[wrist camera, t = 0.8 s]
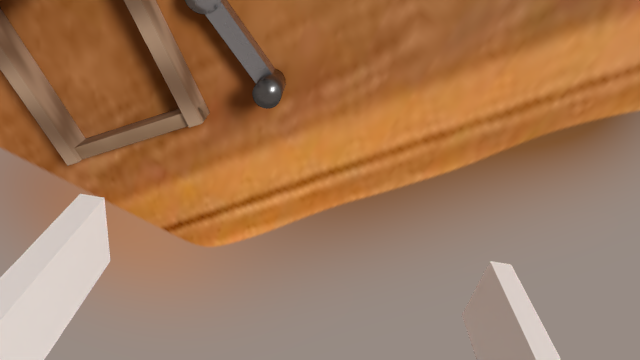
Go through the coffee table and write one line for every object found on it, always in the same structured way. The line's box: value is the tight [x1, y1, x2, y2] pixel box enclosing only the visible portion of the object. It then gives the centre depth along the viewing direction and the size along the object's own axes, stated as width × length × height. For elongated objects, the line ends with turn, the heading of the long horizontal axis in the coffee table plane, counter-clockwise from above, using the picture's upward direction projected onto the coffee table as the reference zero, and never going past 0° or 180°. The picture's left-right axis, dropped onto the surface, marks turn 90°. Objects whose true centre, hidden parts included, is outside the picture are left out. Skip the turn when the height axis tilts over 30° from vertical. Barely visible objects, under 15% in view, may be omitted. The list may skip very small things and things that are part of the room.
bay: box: [0, 0, 210, 166], centre depth 33 cm, size 22×13×2 cm, turn 18°
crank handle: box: [185, 0, 286, 108], centre depth 33 cm, size 11×3×4 cm, turn 33°
